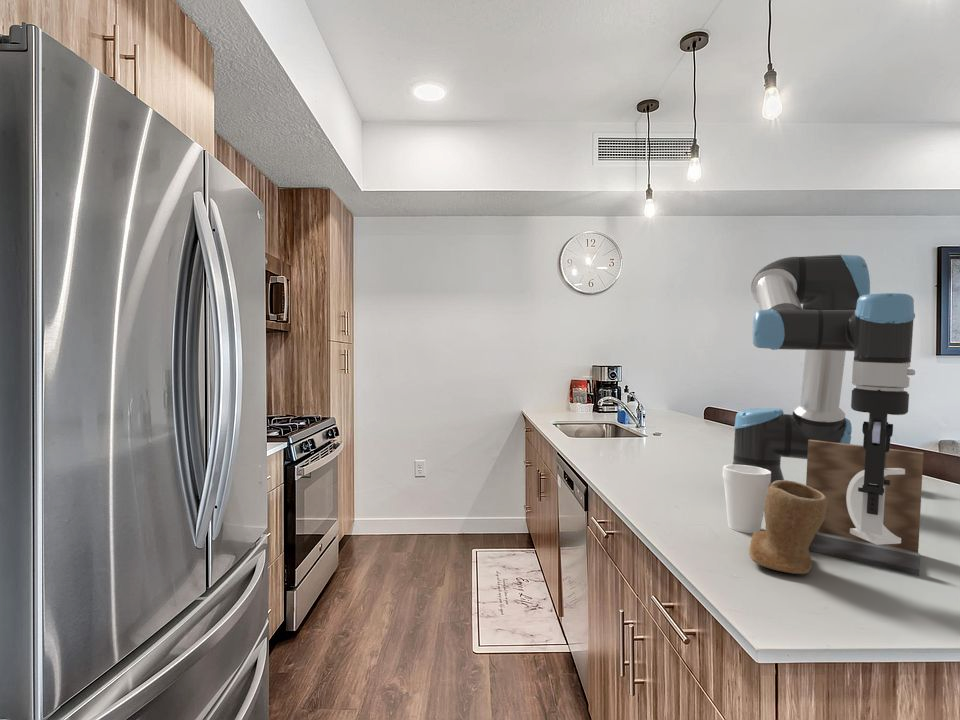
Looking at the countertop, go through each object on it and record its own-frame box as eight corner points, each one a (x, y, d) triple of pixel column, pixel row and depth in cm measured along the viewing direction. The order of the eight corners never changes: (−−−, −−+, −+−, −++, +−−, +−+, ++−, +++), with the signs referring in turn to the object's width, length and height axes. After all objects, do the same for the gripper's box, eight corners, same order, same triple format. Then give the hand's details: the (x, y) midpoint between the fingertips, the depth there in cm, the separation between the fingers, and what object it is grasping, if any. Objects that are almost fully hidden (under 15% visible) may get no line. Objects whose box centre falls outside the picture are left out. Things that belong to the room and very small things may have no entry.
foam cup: (764, 524, 119) (767, 467, 119) (772, 538, 110) (775, 476, 110) (718, 519, 122) (720, 462, 122) (722, 531, 113) (725, 471, 113)
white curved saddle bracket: (876, 544, 84) (880, 469, 83) (844, 531, 90) (847, 460, 89) (901, 543, 85) (905, 469, 84) (867, 529, 91) (871, 460, 90)
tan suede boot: (824, 587, 88) (829, 497, 87) (745, 569, 94) (748, 485, 94) (822, 557, 101) (826, 479, 100) (752, 543, 107) (755, 469, 106)
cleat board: (795, 547, 105) (799, 447, 105) (805, 530, 116) (809, 439, 115) (919, 575, 93) (925, 462, 93) (917, 553, 104) (923, 452, 103)
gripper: (909, 394, 77) (900, 550, 78) (909, 386, 92) (901, 518, 93) (847, 390, 82) (839, 537, 83) (856, 383, 97) (849, 509, 97)
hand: (872, 527), depth 88 cm, fingers closed on white curved saddle bracket, 6 cm apart
